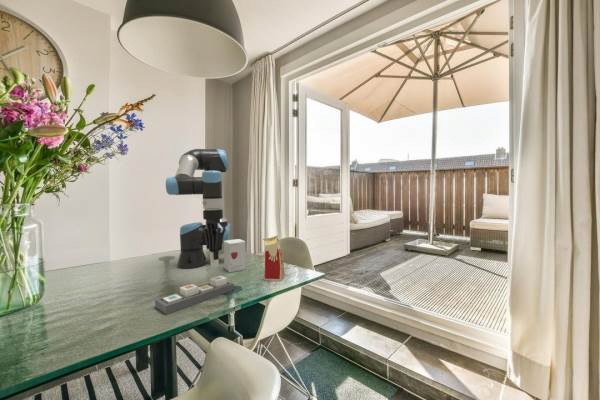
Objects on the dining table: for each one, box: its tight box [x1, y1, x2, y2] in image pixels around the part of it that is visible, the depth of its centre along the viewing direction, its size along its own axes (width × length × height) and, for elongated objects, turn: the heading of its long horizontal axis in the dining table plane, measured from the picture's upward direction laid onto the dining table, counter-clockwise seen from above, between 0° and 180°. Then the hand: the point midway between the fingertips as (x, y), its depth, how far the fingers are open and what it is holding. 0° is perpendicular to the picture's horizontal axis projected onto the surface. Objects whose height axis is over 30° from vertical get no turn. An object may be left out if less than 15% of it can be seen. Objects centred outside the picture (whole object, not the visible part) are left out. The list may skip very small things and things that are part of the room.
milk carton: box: [262, 235, 286, 282], centre depth 123 cm, size 9×9×20 cm
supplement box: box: [223, 238, 247, 273], centre depth 137 cm, size 9×9×15 cm
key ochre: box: [198, 284, 213, 293], centre depth 103 cm, size 5×5×3 cm
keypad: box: [154, 280, 235, 315], centre depth 101 cm, size 9×27×3 cm, turn 139°
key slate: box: [209, 275, 228, 288], centre depth 108 cm, size 5×5×3 cm
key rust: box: [179, 283, 199, 298], centre depth 98 cm, size 5×5×3 cm
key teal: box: [163, 294, 182, 304], centre depth 94 cm, size 5×5×3 cm
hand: (214, 267), depth 107 cm, fingers closed
